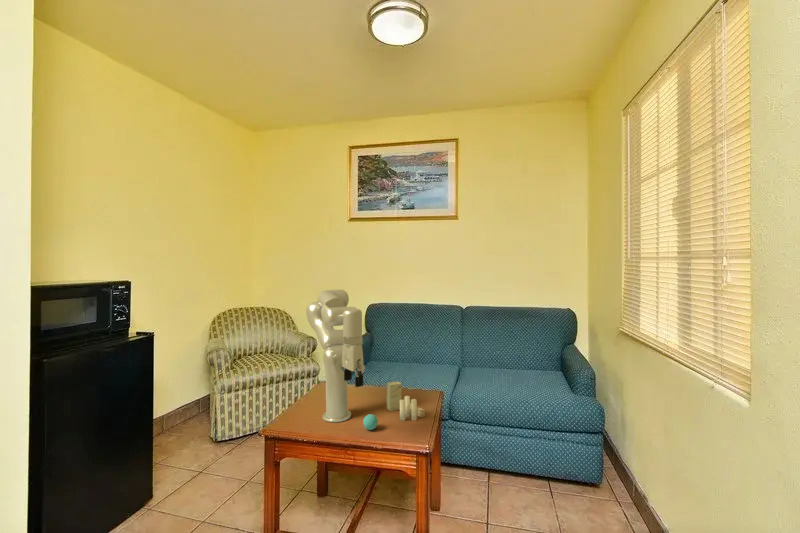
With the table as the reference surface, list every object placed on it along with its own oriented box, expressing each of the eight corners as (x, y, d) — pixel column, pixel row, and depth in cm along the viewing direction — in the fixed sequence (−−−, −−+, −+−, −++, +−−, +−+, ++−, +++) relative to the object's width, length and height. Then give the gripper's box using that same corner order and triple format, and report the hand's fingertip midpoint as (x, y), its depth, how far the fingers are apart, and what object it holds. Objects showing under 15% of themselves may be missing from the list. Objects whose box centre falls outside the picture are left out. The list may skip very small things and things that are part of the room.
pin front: (398, 419, 162) (398, 400, 162) (403, 418, 163) (403, 399, 163) (402, 421, 160) (401, 401, 160) (406, 420, 161) (406, 400, 161)
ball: (360, 428, 153) (360, 414, 153) (373, 425, 157) (373, 410, 157) (367, 433, 148) (367, 418, 148) (380, 430, 152) (380, 415, 152)
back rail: (406, 409, 174) (406, 402, 174) (409, 408, 174) (409, 402, 174) (422, 417, 164) (421, 410, 164) (424, 416, 164) (424, 410, 164)
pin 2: (410, 419, 162) (409, 399, 162) (414, 417, 163) (414, 398, 164) (413, 421, 160) (413, 401, 160) (417, 419, 161) (417, 400, 162)
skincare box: (389, 411, 171) (389, 385, 171) (386, 408, 175) (385, 382, 175) (402, 409, 174) (401, 383, 174) (398, 406, 178) (398, 380, 178)
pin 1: (403, 415, 166) (403, 396, 166) (408, 414, 168) (407, 395, 168) (406, 417, 164) (406, 398, 164) (411, 415, 166) (411, 396, 166)
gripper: (335, 338, 153) (335, 379, 153) (354, 345, 138) (355, 391, 139) (351, 335, 157) (351, 376, 157) (372, 342, 143) (372, 387, 143)
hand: (353, 383), depth 148 cm, fingers open, 9 cm apart
